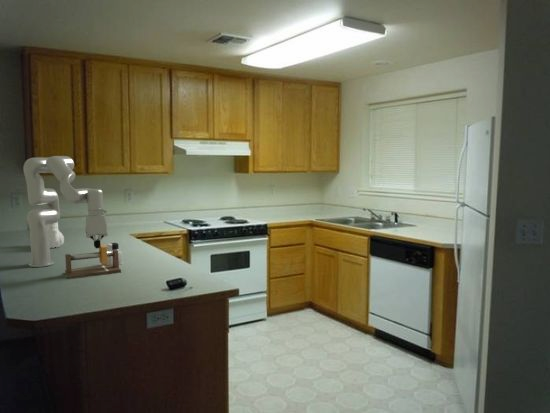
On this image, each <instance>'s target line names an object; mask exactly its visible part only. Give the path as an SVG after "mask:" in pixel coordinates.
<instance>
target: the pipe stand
mask: <svg viewBox="0 0 550 413" xmlns="http://www.w3.org/2000/svg"><path fill="white" fill-rule="evenodd" d="M118 251H119V250H112V251H107V257H111V256H113V264H112V265H95V266H88V267H85V266H84V267H78V268H72V261H81V260H89V259H97V258H98V259H99V258H101V252H99V251H94V252H85V253H74V254H70V253H66V254H65V255H64V256H65V270H64V272H65V275H66V277H67V278H68V279H69V280H71V279H77V278H78V279H79V278H86V277H94V276H96V277H97V276H102V275H111V274H119V273H120V274H121V273H122V270H121V268H120V265H119V259H118Z"/></svg>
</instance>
